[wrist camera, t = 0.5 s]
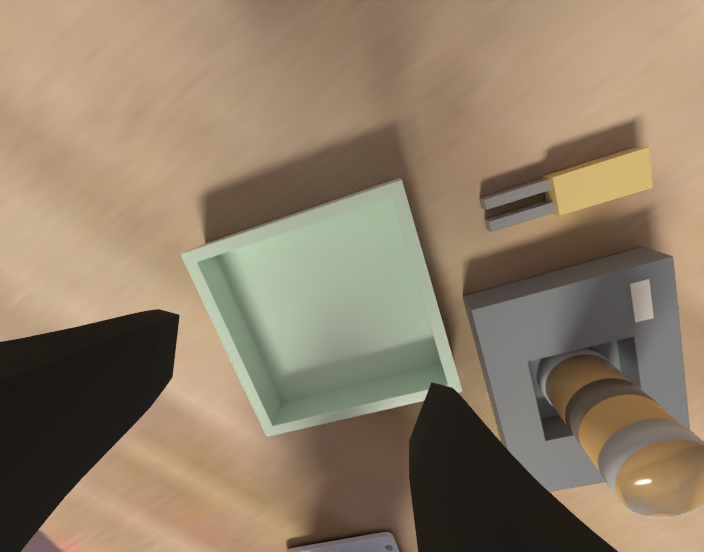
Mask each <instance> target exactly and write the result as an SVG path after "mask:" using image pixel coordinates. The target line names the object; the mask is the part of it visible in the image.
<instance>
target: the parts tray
mask: <svg viewBox="0 0 704 552" xmlns="http://www.w3.org/2000/svg"><path fill="white" fill-rule="evenodd" d="M181 257H182V259H183V261H184V263H185V265H186V267H187V269H188V271H189V273H190V276H191V278H192V280H193V282H194V284H195V286H196V288H197V290H198V293H199V295H200V297H201V299H202V301H203V303H204V305H205V307H206V310H207V312H208V314H209V316H210V318H211V320H212V322H213V324H214V327H215V329H216V331H217V333H218V335H219V337H220V339H221V341H222V343H223V346H224V348H225V350H226V352H227V354H228V356H229V358H230V360H231V363H232V365H233V367H234V369H235V371H236V373H237V375H238V377H239V380H240V382H241V384H242V386H243V388H244V390H245V392H246V394H247V397H248V399H249V401H250V403H251V405H252V407H253V409H254V411H255V414H256V416H257V418H258V420H259V422H260V424H261V426H262V428H263V430H264V433H265V435H266V437H270V436H274V435H278V434H283V433H287V432H291V431H296V430H300V429H304V428H309V427H313V426H317V425H322V424H326V423H330V422H335V421H339V420H343V419H348V418H352V417H356V416H361V415H365V414H369V413H374V412H378V411H382V410H387V409H391V408H395V407H400V406H404V405H408V404H413V403H417V402H421V401H424V400H425V398H426V395H427V392H428V390H429V387H430V384H431V382H433V383H437V384H441V385H444V386H448V387H452V388H454V389H455V390H456V391H457V392H458V393H460V392H463V391H462V388H461V384H460V381H459V377H458V374H457V370H456V367H455V363H454V360H453V356H452V353H451V350H450V346H449V343H448V339H447V336H446V332H445V329H444V325H443V322H442V318H441V315H440V311H439V308H438V304H437V301H436V297H435V294H434V290H433V287H432V283H431V280H430V276H429V273H428V269H427V266H426V262H425V259H424V255H423V252H422V249H421V245H420V242H419V238H418V235H417V231H416V228H415V224H414V221H413V217H412V214H411V210H410V207H409V203H408V200H407V196H406V193H405V189H404V186H403V182H402V180H401V179H400V178H397V179H394V180H391V181H388V182H385V183H382V184H379V185H376V186H373V187H370V188H367V189H365V190H362V191H359V192H356V193H353V194H350V195H347V196H344V197H341V198H338V199H335V200H332V201H329V202H326V203H323V204H320V205H317V206H314V207H311V208H308V209H305V210H302V211H299V212H296V213H294V214H291V215H288V216H285V217H282V218H279V219H276V220H273V221H270V222H267V223H264V224H261V225H258V226H255V227H252V228H249V229H246V230H243V231H240V232H237V233H234V234H231V235H228V236H226V237H223V238H220V239H217V240H214V241H211V242H208V243H205V244H203V245H200V246H198V247H196V248H193V249H191V250H189V251H187V252H184V253H182V254H181Z"/></svg>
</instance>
